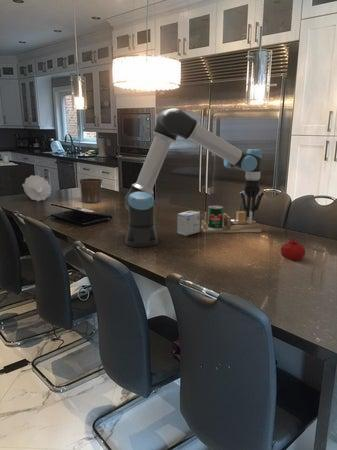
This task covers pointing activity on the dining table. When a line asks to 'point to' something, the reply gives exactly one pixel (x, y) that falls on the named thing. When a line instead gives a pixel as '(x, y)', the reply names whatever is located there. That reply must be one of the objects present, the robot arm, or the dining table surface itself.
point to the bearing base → (232, 226)
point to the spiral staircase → (37, 188)
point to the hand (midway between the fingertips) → (249, 222)
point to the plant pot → (90, 190)
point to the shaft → (239, 218)
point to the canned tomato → (215, 216)
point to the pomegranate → (293, 250)
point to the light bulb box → (188, 222)
